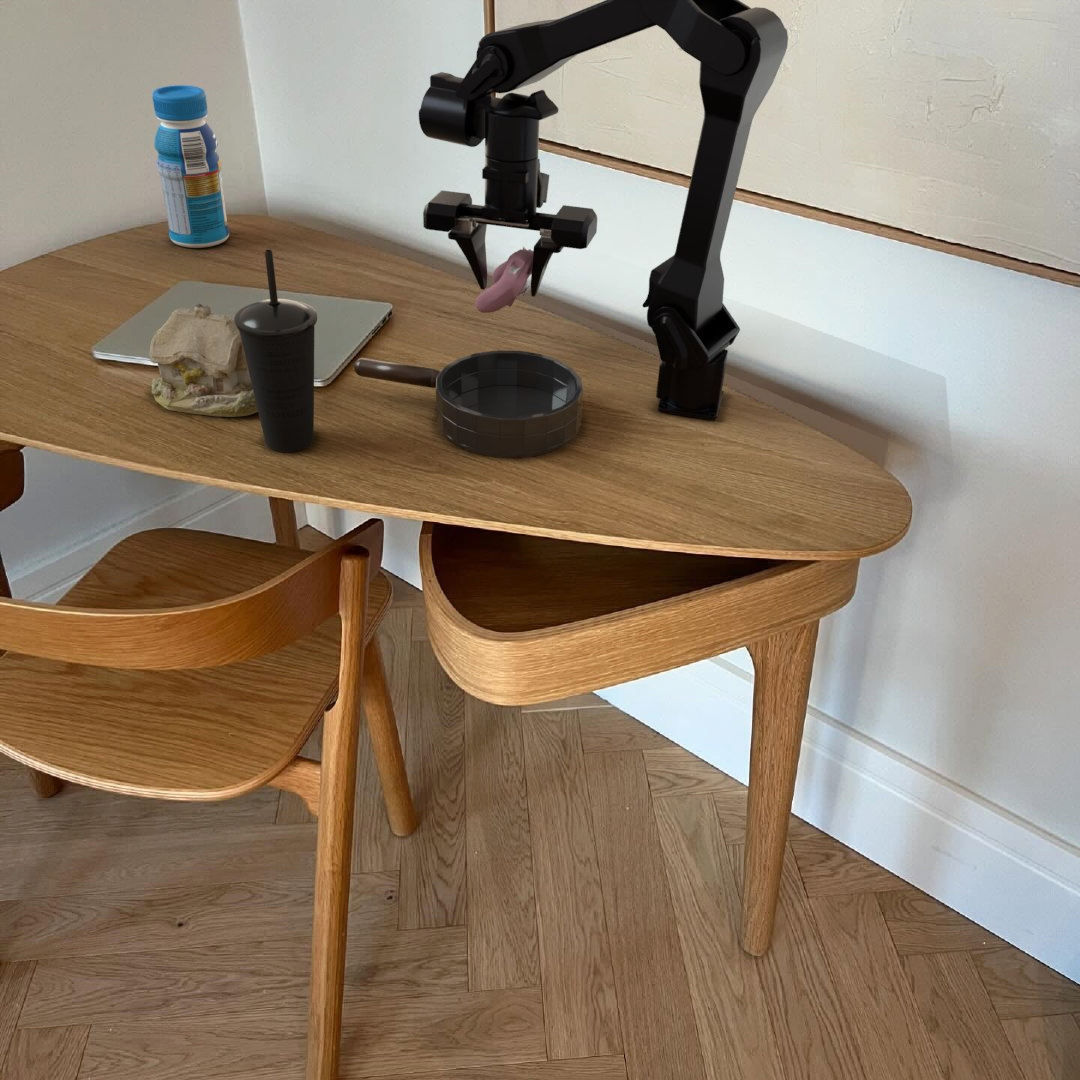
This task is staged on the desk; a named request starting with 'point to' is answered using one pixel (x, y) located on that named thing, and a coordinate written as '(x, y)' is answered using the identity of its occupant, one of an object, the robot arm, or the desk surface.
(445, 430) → the pan
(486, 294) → the video game controller
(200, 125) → the beverage bottle
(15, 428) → the desk surface
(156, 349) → the ceramic model
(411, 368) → the pan handle
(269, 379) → the drinking cup
